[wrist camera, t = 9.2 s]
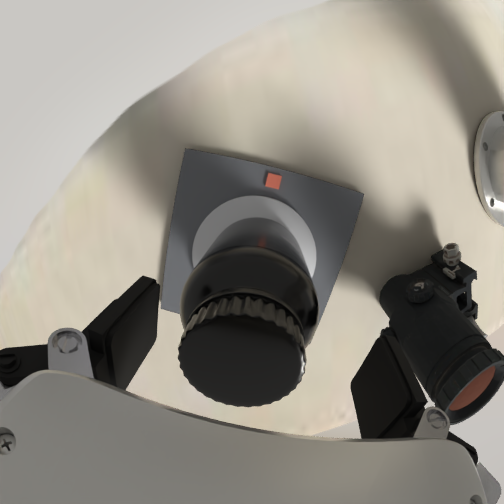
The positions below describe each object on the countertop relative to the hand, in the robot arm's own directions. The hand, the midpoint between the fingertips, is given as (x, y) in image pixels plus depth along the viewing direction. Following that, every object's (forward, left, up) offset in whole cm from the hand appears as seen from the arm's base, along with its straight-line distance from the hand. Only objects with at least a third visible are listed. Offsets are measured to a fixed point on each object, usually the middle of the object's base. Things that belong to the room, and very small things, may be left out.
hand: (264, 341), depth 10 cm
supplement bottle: (+1, 0, -11) cm, 11 cm away
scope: (-14, +1, -12) cm, 19 cm away
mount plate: (+1, +1, -12) cm, 12 cm away
